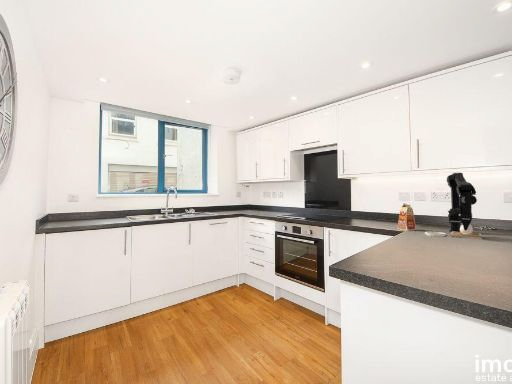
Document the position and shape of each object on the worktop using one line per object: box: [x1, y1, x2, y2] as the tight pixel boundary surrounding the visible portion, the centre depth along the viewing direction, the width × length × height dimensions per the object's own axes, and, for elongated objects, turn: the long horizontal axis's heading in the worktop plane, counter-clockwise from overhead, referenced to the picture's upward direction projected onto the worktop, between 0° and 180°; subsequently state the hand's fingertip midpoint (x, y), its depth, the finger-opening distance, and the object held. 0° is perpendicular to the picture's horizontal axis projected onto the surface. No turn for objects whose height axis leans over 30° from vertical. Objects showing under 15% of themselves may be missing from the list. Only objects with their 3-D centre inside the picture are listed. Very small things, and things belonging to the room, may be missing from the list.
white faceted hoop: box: [424, 231, 446, 237], centre depth 157 cm, size 11×11×1 cm
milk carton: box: [396, 202, 417, 231], centre depth 183 cm, size 9×9×20 cm
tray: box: [450, 231, 482, 240], centre depth 150 cm, size 12×14×2 cm
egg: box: [460, 223, 474, 235], centre depth 150 cm, size 6×6×8 cm
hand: (465, 229), depth 150 cm, fingers open, 9 cm apart
